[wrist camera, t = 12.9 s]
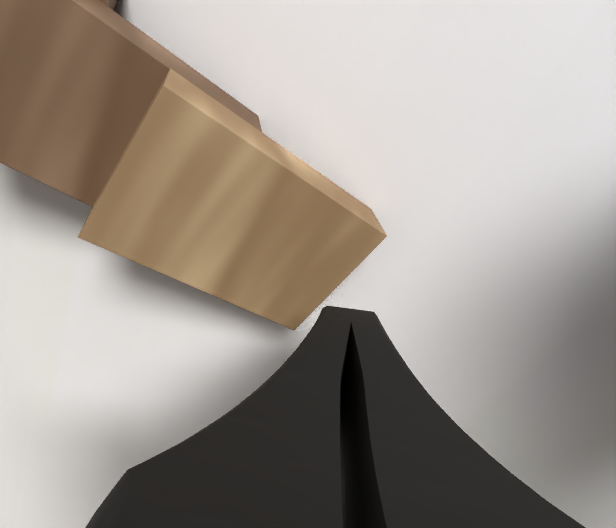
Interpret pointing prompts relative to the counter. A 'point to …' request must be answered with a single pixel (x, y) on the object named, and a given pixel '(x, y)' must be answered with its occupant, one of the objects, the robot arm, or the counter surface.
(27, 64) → the tile
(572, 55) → the counter surface
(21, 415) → the counter surface
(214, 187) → the tile
